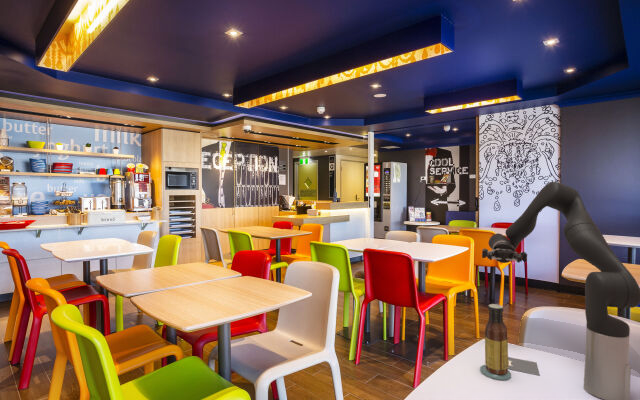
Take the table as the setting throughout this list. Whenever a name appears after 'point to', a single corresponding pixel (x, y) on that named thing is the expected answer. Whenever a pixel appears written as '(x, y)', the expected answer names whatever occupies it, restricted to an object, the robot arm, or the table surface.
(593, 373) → the robot arm
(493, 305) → the sauce bottle
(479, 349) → the table surface
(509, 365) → the grey card
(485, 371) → the sage green round disc
